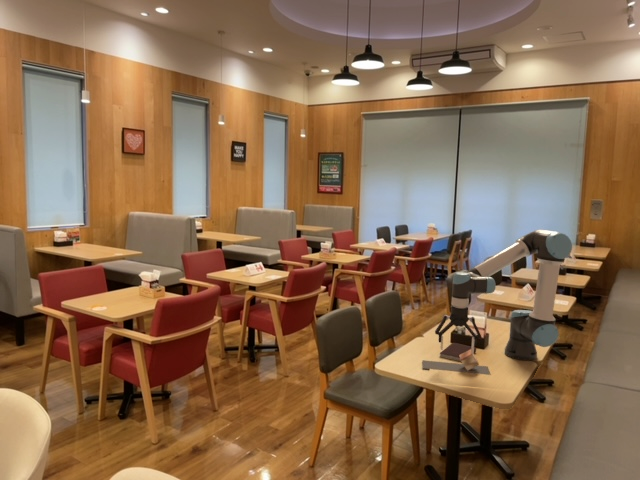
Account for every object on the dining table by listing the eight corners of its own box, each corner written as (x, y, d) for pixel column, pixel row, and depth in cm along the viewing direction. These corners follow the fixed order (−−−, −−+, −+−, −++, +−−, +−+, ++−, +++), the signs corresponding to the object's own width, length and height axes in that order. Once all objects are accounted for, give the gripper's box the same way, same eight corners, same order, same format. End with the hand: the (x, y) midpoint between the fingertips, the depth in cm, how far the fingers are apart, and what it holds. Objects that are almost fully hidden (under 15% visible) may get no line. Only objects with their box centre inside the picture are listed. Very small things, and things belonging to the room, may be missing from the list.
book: (476, 353, 244) (476, 347, 244) (463, 364, 229) (464, 358, 228) (452, 348, 251) (452, 342, 251) (438, 358, 236) (439, 352, 235)
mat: (487, 367, 224) (487, 366, 224) (490, 375, 214) (490, 374, 214) (422, 361, 230) (422, 360, 230) (422, 369, 220) (422, 368, 220)
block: (477, 360, 223) (470, 349, 223) (479, 364, 217) (471, 353, 217) (466, 365, 224) (459, 355, 224) (467, 370, 218) (460, 359, 218)
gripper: (487, 306, 220) (484, 350, 222) (431, 302, 224) (428, 345, 227) (489, 310, 212) (486, 355, 215) (431, 306, 217) (429, 350, 220)
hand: (456, 350), depth 221 cm, fingers open, 13 cm apart
